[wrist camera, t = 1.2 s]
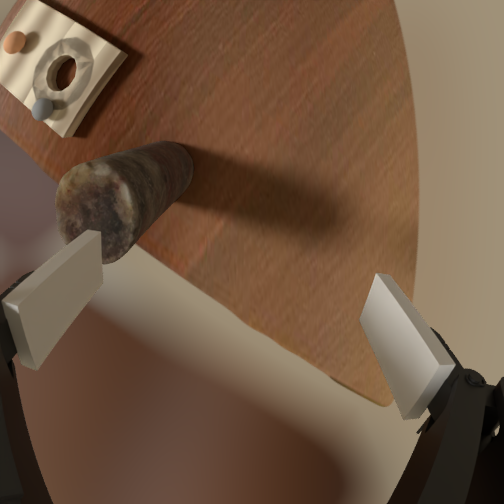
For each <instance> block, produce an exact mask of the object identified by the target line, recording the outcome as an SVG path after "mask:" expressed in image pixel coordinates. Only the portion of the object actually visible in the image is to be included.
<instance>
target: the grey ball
mask: <svg viewBox="0 0 504 504" xmlns="http://www.w3.org/2000/svg"><path fill="white" fill-rule="evenodd" d="M52 112H53V104H52V102H51V101H50V100H49V99H47V98H41V99H39V100H37V101H36V102H35V103H34V105H33V107H32V115H33V117H34V118H35V119H36V120H38V121H44V120H46V119H48V118H49V117H50V116H51V114H52Z"/></svg>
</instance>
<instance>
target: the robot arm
mask: <svg viewBox="0 0 504 504" xmlns="http://www.w3.org/2000/svg"><path fill="white" fill-rule="evenodd" d="M102 284H103V273H102V251H101V232H100V231H93V230H86V231H85V232H84V233H82V234H81V235H80V236H78V237H77V238H76V239H74V240H73V241H72V242H70V243H69V244H68V245H67V246H65V247H64V248H63V249H61V250H60V251H59V252H58V253H56V254H55V255H54V256H53V257H51V258H50V259H49V260H48V261H47V262H45V263H44V264H43V265H42V266H40V267H39V268H38V269H37V270H36V271H32V272H29V273H27V274H25V275H23V276H22V277H21V278H20V279H18V281H16V283H14V284H13V285H11V286H10V288H8V289H7V290H6V291H5V292H3V293H2V294H1V295H0V504H53V502H52V500H51V497H50V495H49V493H48V490H47V487H46V485H45V482H44V479H43V477H42V474H41V471H40V468H39V465H38V462H37V460H36V456H35V453H34V450H33V447H32V444H31V440H30V436H29V433H28V429H27V426H26V421H25V417H24V413H23V409H22V404H21V399H20V394H19V389H18V383H17V378H16V371H15V366H14V363H13V360H12V358H13V357H14V356H15V354H16V353H17V354H18V356H19V359H20V362H21V364H22V365H24V366H26V367H29V368H31V369H34V370H36V371H37V370H38V369H39V367H40V366H41V364H42V363H43V362H44V360H45V359H46V357H47V356H48V354H49V353H50V352H51V350H52V349H53V347H54V346H55V345H56V343H57V342H58V341H59V339H60V338H61V336H62V335H63V334H64V333H65V331H66V330H67V328H68V327H69V326H70V325H71V323H72V322H73V321H74V319H75V318H76V317H77V315H78V314H79V313H80V312H81V310H82V309H83V308H84V306H85V305H86V304H87V303H88V301H89V300H90V299H91V298H92V296H93V295H94V294H95V293H96V291H97V290H98V289H99V288H100V286H101V285H102ZM359 321H360V323H361V325H362V328H363V330H364V332H365V334H366V336H367V338H368V340H369V342H370V345H371V347H372V349H373V351H374V353H375V355H376V358H377V360H378V362H379V364H380V367H381V369H382V371H383V373H384V376H385V378H386V380H387V382H388V385H389V387H390V389H391V392H392V394H393V396H394V399H395V401H396V403H397V405H398V408H399V411H400V413H401V416H402V418H403V420H408V419H416V418H420V416H421V415H422V414H423V412H424V411H425V410H426V408H428V410H429V412H430V414H431V415H430V416H429V417H428V418H427V420H426V421H425V422H424V424H423V425H422V426H421V428H420V429H419V430H418V431H417V434H419V433H420V432H421V431H422V432H421V435H420V437H419V439H418V442H417V444H416V446H415V449H414V451H413V453H412V455H411V458H410V460H409V462H408V464H407V466H406V468H405V470H404V472H403V474H402V477H401V479H400V480H399V482H398V484H397V486H396V488H395V490H394V492H393V494H392V496H391V498H390V499H389V501H388V503H387V504H504V377H502V378H501V380H500V381H499V383H498V384H497V385H496V386H494V385H488V384H486V381H485V379H484V378H483V377H482V376H481V375H480V374H479V373H478V372H476V371H474V370H472V369H464V368H463V367H462V366H461V364H460V363H459V361H458V360H457V358H456V357H455V355H454V354H453V352H452V351H451V350H449V349H450V348H449V347H448V345H447V344H445V341H444V340H443V339H442V337H441V336H440V334H438V333H437V332H436V331H435V330H434V329H432V328H431V327H429V326H428V324H427V323H426V322H425V320H424V319H423V317H422V316H421V315H420V313H419V312H418V311H417V309H416V308H415V307H414V305H413V304H412V303H411V301H410V300H409V299H408V298H407V296H406V295H405V294H404V292H403V291H402V290H401V289H400V287H399V286H398V285H397V283H396V282H395V281H394V280H393V278H392V277H391V276H390V275H387V274H380V273H376V275H375V278H374V281H373V284H372V287H371V290H370V292H369V295H368V298H367V301H366V303H365V306H364V309H363V311H362V314H361V317H360V319H359ZM499 425H500V428H499V432H498V434H497V435H496V436H495V432H494V431H495V429H496V428H497V427H498V426H499Z"/></svg>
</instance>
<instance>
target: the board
mask: <svg viewBox="0 0 504 504" xmlns="http://www.w3.org/2000/svg"><path fill="white" fill-rule="evenodd" d="M14 31H21V32H23V33H24V34H25V37H26V42H25V45H24V47H23V48H22V49H21V50H20V51H19V52H17V53H15V54H8V53H6V52H5V50H4V47H3V44H4V41H5V39H6V37H7V36H8V35H9V34H10V33H12V32H14ZM127 56H128V55H127V54H126V53H125V52H123V51H122V50H120V49H119V48H117V47H116V46H114V45H112V44H111V43H109V42H108V41H106V40H105V39H103V38H102V37H100V36H99V35H97V34H95V33H94V32H92V31H91V30H89V29H87V28H86V27H84V26H82V25H81V24H79V23H78V22H76V21H74V20H73V19H71V18H69V17H68V16H66V15H64V14H62V13H61V12H59V11H57V10H55V9H54V8H52V7H50V6H48V5H47V4H45V3H43V2H41V1H39V0H27V1H26V3H25V4H24V5H23V7H22V8H21V10H20V11H19V13H18V14H17V16H16V17H15V19H14V20H13V22H12V23H11V25H10V26H9V28H8V29H7V31H6V33H5V34H4V36H3V38H2V39H1V41H0V83H1V84H2V85H3V86H4V87H5V88H6V89H7V90H9V91H10V92H11V93H12V94H13V95H14V96H15V97H16V98H18V99H19V100H20V101H21V102H22V103H23V104H24V105H26V106H27V107H28V108H29V109H30V110H31V111H32V107H33V105H34V103H35V102H36V101H37V100H39V99H41V98H47V99H49V100H50V101H51V102H52V104H53V112H52V114H51V116H50V117H49V118H48V119H46V120H44V122H45V123H46V124H47V125H49V126H50V127H51V128H52V129H53V130H54V131H56V132H57V133H58V134H59V135H60V136H61V137H63V138H65V137H72V136H73V135H74V133H75V131H76V130H77V128H78V126H79V125H80V123H81V121H82V120H83V118H84V117H85V115H86V114H87V112H88V110H89V109H90V107H91V106H92V104H93V103H94V101H95V100H96V98H97V97H98V95H99V94H100V92H101V91H102V90H103V88H104V87H105V85H106V84H107V83H108V81H109V80H110V78H111V77H112V76H113V74H114V73H115V72H116V70H117V69H118V68H119V66H120V65H121V64H122V63H123V61H124V60H125V59H126V57H127ZM70 58H74V59H75V62H76V65H77V70H76V75H75V78H74V79H73V81H72V83H71V84H70V86H68V87H67V88H65V89H64V90H63V91H61V90H60V89H58V87H57V83H56V76H57V71H58V70H59V68H60V67H61V65H62V64H63V63H64V62H65V61H67V60H68V59H70Z"/></svg>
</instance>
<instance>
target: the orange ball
mask: <svg viewBox="0 0 504 504" xmlns="http://www.w3.org/2000/svg"><path fill="white" fill-rule="evenodd" d="M25 42H26V37H25V34H24V33H23V32H21V31H14V32H12V33H10V34H9V35H8V36H7V37H6V39H5V41H4V44H3V47H4V50H5V52H6V53H8V54H15V53H17V52H19V51H20V50H21V49H22V48H23V47H24V45H25Z"/></svg>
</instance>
